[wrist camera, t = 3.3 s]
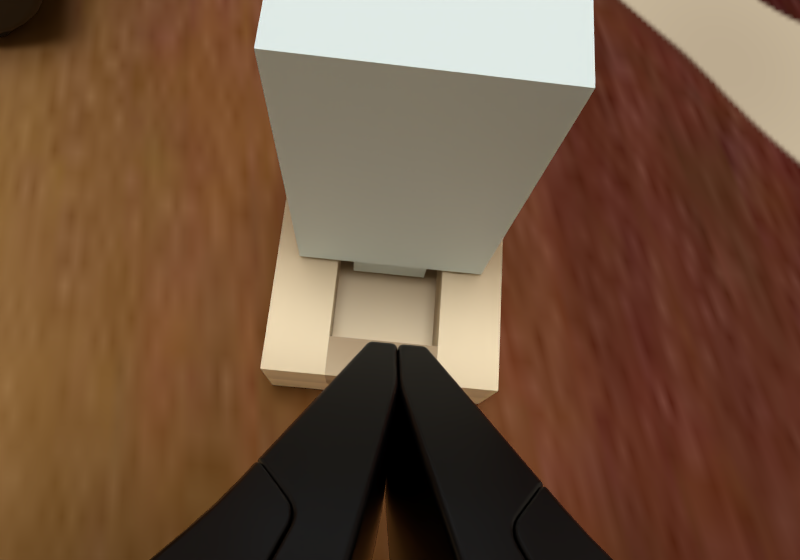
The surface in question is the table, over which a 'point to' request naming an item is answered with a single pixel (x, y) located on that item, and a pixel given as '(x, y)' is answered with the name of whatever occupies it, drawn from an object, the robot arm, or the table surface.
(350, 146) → the block
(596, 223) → the table surface
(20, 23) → the end cap
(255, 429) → the table surface
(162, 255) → the table surface
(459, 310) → the beam
